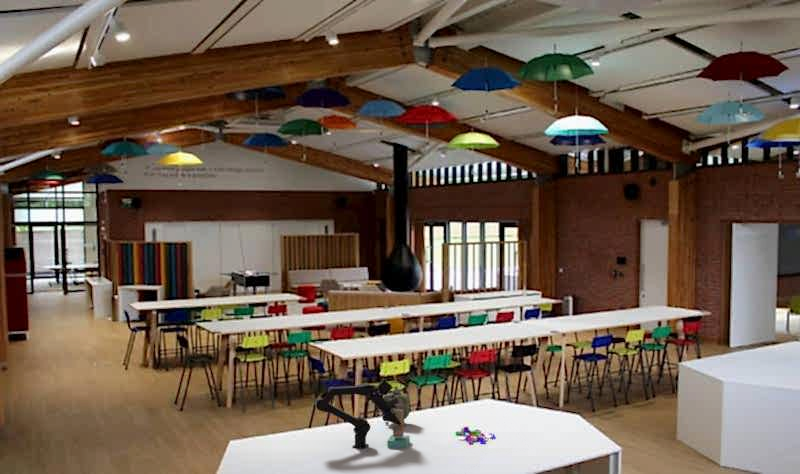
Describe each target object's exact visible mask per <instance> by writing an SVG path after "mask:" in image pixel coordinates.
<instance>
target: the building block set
mask: <svg viewBox="0 0 800 474" xmlns="http://www.w3.org/2000/svg"><path fill="white" fill-rule="evenodd" d="M454 432H455V433H454V434H456V435H455V436H459V435H460V436H459V437H458V441H462V440H464V441H465V442H466V441H467V444H468V443H469V444H468V445H473V442H475V441H476V442H479V443H480V445H486V444H487V443H486V442H488V441H489V440H495V439H496V436H495V434H494V433H482V431H481V430H479V429H474V430H471V429H469V426H462V427H460V429H458V430H457V431H454ZM464 435H465V436H464ZM463 436H464V437H463ZM473 436H478V437H473ZM489 438H491V439H489ZM465 439H466V440H465Z"/></svg>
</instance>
